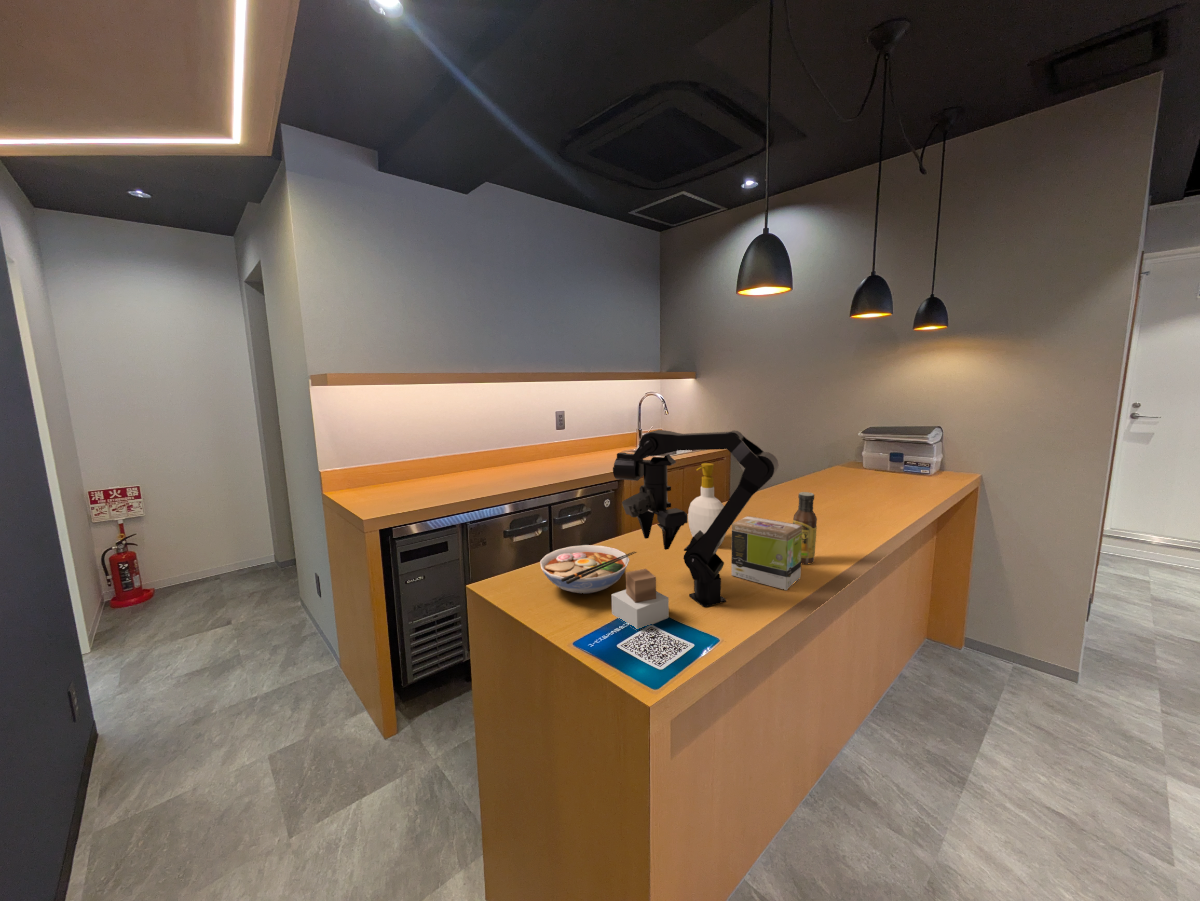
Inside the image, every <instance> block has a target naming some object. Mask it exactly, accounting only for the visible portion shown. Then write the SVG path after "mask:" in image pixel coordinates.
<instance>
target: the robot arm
mask: <svg viewBox="0 0 1200 901" xmlns="http://www.w3.org/2000/svg"><path fill="white" fill-rule="evenodd" d="M701 450H703V451H709V450H710V451H711V450H714V451H716V450H727V451H728V452H730V454H731V455H732V456H733V457H734V459H735V460H736V461H737V462H738V464H740V465H741V467H743V468H744V470H743V471H742V474H741V475H740V476H741V477H740V479H739V482H738V485H737V487H736V489H735V490H734V491H733V493H732V494H731V495H730V497H729V499H728V500H727V501H726V503H725V504H724V507H723V509H722V510H721V511H720V513H719V514H718V516H717V517H716V519H715V520H714V522H713V523H712V524H711V526H710V527H709V529H708V530H707V532H706V533H703V532H702V531H701V530H699V531H698V532H697V533H696V534H695V535H694V536H693V537H692V538H691V539H690V541H689V544H688V545H686V547H685V548H684V549H683V551H684V554H683V562H684V564H685V566H686V567H687V568H688V569H689V571H690V575H691V578H692V580H693V592H692V593H689V595H688V597H690V598H691V599H692V600H693V601H695V602H696V603H697V604H699V606H700V605H701V606H702V607H703V608H705V607H706V608H707V607H710V606H715V605H719V604H723V603H727V598H725V597H723V596H722V578H721V574H720V572H721V571H722V569H723V567H724V565H725V562H724V561H723V559H722V558H721V557H720V556H719V555H718V554H717V552H718V550H719V547H720V546H719V544H720V542H721V539H722V537H723V536H724V534H725V533H726V534H727V532H728V531H729V529H730V528H731V527H732V523H734V522H736V519H737V518H738V516H739V515H740V514H741V512H742V511H743V509H744V508H745V507H746V506H747V504H748V502H749V501H750V499H752V497H753V495H755V494H756V493H757V492H758V491H759V490H760V489H762V487H764V486H765V485H766V484H767V483H768V482H769V481H770V480H771V479H772V478H773V477H774V475H775V474H776V473H777V472H778V469H779V461H778V459H777V457H776V456H775V455H774V454H773V453H771V452H768V451H764V450H763V449H762V448H761V447H759V446H758V445H757V444H755V443H754V442H753V441H751V440H749V439H748V437H746V436H744V434H743V433H741V431H738V430H730V431H720V432H719V431H716V432H715V431H713V432H691V433H680V432H676V431H672V430H662V429H656V430H653V431H649V432H646V433H644V434H643V435H642V436H641V438H640V441H639V446H638V448H637V449H636V450H635V452H634V453H628V452H627V453H626V452H618V453H616V458H615V461H614V463H613V467H612V473H613V478H615V479H616V480H622V481H623V480H625V481H634V482H638V481H640V479H641V478H643V484H642V485H640V486H639V492H638V493H636V494H633V495H631V496H629V497H628V498H626V499H624V500H623V501H621V505H622V507H623V509H624V512H625V515H628V516H630V517H631V518H637V520H638V523H639V525H640V528H641V531H642V535H643V539H645V540H646V539H650V535H651V531H652V526H653V522H654V517H655V515H656V516H657V518H656V519H657V520H656V521H657V522H658V523H657V524H656V525H657V526H658V527H659V528H660V529H661V533H662V541H663V542H662V543H663V549H664V550H666V551H667V550H669V549H670V548H671V546H672V544H673V541H674V540H675V538H676V536H677V534H678V532H679V530H680V529H681V528H682V527H683V526H684V525H685V524H688V523H689V522H688V513H687V512H686V511H685V510H683V509H680V508H677V507H675V508H672V503H671V502H669V501H668V500H669V499H668V492H671V491H672V486H670V485H668V467H669V466H672V465H675V464H676V463H677V461H676V460H675V459H674V458H673V457H671V455H670V454H669V453H674V452H678V451H701ZM660 455H664V456H663V457H662V456H660ZM649 457H651V459H647V458H649Z"/></svg>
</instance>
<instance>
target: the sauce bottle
mask: <svg viewBox="0 0 1200 901" xmlns="http://www.w3.org/2000/svg"><path fill="white" fill-rule="evenodd" d="M814 500H815V494H814V493H813V492H809V491H801V492H799V493H798V509H797V510H796V511H795V513H794V514H793V520H792V523H793V524H799V525H802V544H801V563H802V564H801V565H809V564H808V563H812V562H813V563H814V561H815V557H816V556H815V555H816V542H817V529H818V528H817V523H818V522H817V521H818V517H817V516H816V513H815V512H814ZM813 563H812V564H813Z"/></svg>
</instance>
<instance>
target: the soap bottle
mask: <svg viewBox="0 0 1200 901" xmlns="http://www.w3.org/2000/svg"><path fill="white" fill-rule="evenodd" d="M714 466H715V464H714V463H709V462H704V463H701V466H700V467H698V468H696V469H695V470H696V471H697V472H698V471H699V470H702V475H703V476H701V486H700V495H699V496H696V497H695V498H694V499H693V500H692V501H691V502H690V504H689V507H688V513H687V515H688V522H687V523H688V528H689V530H690V534H691V536H692V538H693V536H694V535H695V534H696V533H697V532H698V531H699V530H701V531H702V532H703V533H706V532H707V530H708V529H709V527H710V526H711V524H712V523H713V522H714V520H715V519H716V517H717V516H718V514H719V513H720V511H721V510H722V509H723V507H724V506H725V504H723V503H722V502H721V500H719V498H717V497H716V496H715V486H714V477H713V472H714ZM726 535H727V532H726V533H725V534H724V536H723V537H722V539H721V542H720V544H719V547H720V546H721V545H722V543H723V542H724V540H725V536H726Z"/></svg>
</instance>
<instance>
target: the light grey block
mask: <svg viewBox="0 0 1200 901" xmlns="http://www.w3.org/2000/svg"><path fill="white" fill-rule="evenodd" d="M669 601H670V599H669V596H666V595H665V594H663V593H662V592H659V591H657V590H656V599H652V600H647V601H642V602H637V603H635V602H634V601H633V600H632V599H631V598H630V597H629V596H628V595H627V594H626V589H623V590H621V591H616V592H614V593H612V594H611V614H612V615H613V616H614V617H616V618H617V617H618V619H619V618H620V619H622V620H623V621H625V622H627V623H629V624H630V625H632V626H634V627H635V628H636V629H639V628H642V627H644V626H647V625H650V624H652V625H654V624H657V623H659V622H661V621H665V620H666V619H668V618H669V610H670V609H669V607H670V606H669V605H670V604H669ZM620 619H619V620H620ZM622 620H621V621H622ZM623 621H622V622H623ZM625 622H624V623H625ZM650 626H651V625H650ZM647 627H648V626H647ZM636 629H635V630H636ZM642 629H643V628H642Z"/></svg>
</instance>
